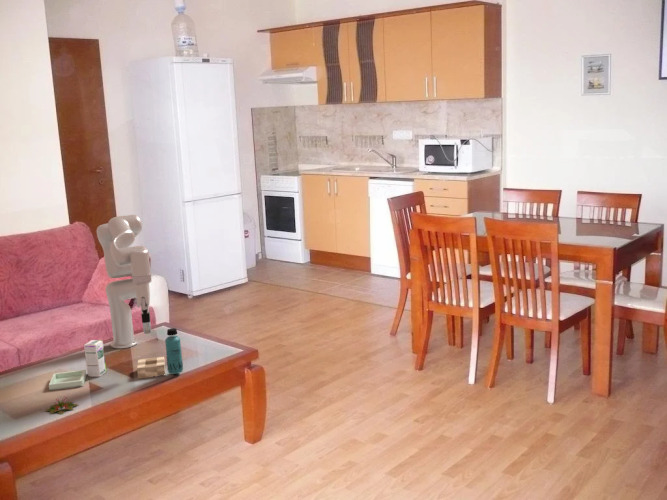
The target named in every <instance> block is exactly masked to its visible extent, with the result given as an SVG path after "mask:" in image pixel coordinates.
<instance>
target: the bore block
mask: <svg viewBox="0 0 667 500" xmlns="http://www.w3.org/2000/svg"><path fill="white" fill-rule="evenodd" d="M136 367H137V368H136V369H137V379H146V378H154V377H153V376H155V377H159V376H158V375H163V376H165V375H166V360H165V356H159V357H158V356H157V357H149V358H139V359H138V361H137V366H136ZM164 374H165V375H164Z"/></svg>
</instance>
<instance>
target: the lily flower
mask: <svg viewBox="0 0 667 500" xmlns="http://www.w3.org/2000/svg"><path fill="white" fill-rule="evenodd" d="M60 399H61V397H60ZM60 399H59V398H58V397H57V399H56V398H55V401H56V402H55V403H54V404H53V405H50V408H47V409H46V410H44V412H49V413H50V414H49V415H51V414H54V413H56V412H57V413H58V414H61V415H63V414H64V413H65V412H66V411H67V410H69V411H70V410H72V411H74V408H75V407H77V406H78V404H76V403H73V401H72V402H71V401H66V399H67V397H65V396H64V397H63V399H62V400H60ZM73 407H74V408H73ZM60 409H61V410H60Z"/></svg>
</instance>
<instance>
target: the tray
mask: <svg viewBox="0 0 667 500" xmlns="http://www.w3.org/2000/svg"><path fill="white" fill-rule="evenodd" d="M86 378H87V369H79V370H73V371H72V370H71V371H64V372H56V373H55V372H54V373H53V374H52V377H51V379H50V381H49V383H48V390H49V391H58V390H65V389H72V388H81V387H84V384H85V381H86Z"/></svg>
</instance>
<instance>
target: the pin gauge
mask: <svg viewBox="0 0 667 500" xmlns="http://www.w3.org/2000/svg"><path fill="white" fill-rule="evenodd" d="M146 304H147V303H146ZM146 306H147V305H146ZM149 310H150V305H149V306H148V312H149ZM141 313H142V311H141ZM149 315H150V316H151V313H149ZM142 328H143V329H142V330H143V334H145V335H147V334H151V333H152V325H151V321H150V322H147V323H142Z"/></svg>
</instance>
